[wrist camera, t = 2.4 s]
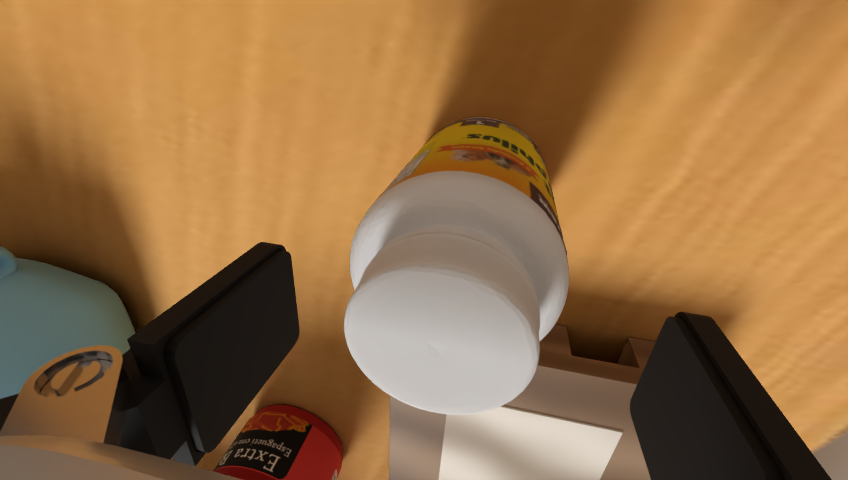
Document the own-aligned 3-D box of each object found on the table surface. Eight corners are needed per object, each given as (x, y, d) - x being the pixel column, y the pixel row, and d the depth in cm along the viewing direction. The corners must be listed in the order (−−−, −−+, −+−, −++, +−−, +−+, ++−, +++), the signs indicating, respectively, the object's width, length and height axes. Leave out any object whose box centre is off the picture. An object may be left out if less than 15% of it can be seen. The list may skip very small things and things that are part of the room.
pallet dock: (406, 298, 20) (389, 338, 17) (693, 348, 18) (724, 403, 15) (401, 454, 27) (388, 501, 24) (608, 505, 25) (619, 562, 22)
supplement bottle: (576, 180, 15) (658, 376, 7) (478, 258, 18) (444, 471, 9) (479, 80, 14) (423, 153, 6) (391, 178, 17) (259, 332, 8)
